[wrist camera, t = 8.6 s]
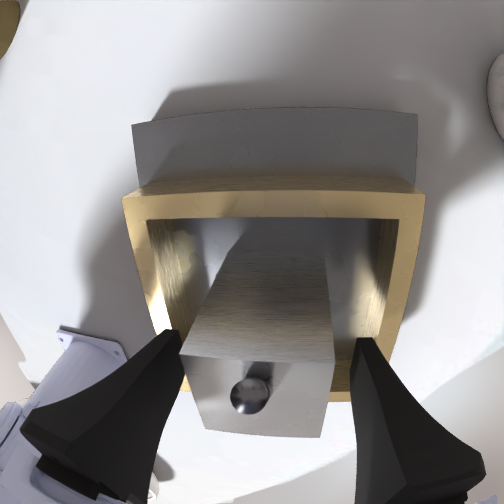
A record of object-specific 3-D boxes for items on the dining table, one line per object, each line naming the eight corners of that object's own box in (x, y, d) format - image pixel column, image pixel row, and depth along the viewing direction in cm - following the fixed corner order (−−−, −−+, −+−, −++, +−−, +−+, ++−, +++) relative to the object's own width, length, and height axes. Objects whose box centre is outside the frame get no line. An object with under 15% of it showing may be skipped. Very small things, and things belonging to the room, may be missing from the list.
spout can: (318, 326, 16) (318, 469, 8) (237, 324, 17) (196, 458, 9) (323, 250, 14) (338, 403, 6) (227, 249, 15) (160, 388, 7)
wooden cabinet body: (365, 376, 20) (371, 424, 16) (197, 368, 22) (180, 413, 18) (402, 113, 12) (441, 116, 8) (150, 121, 14) (101, 130, 10)
